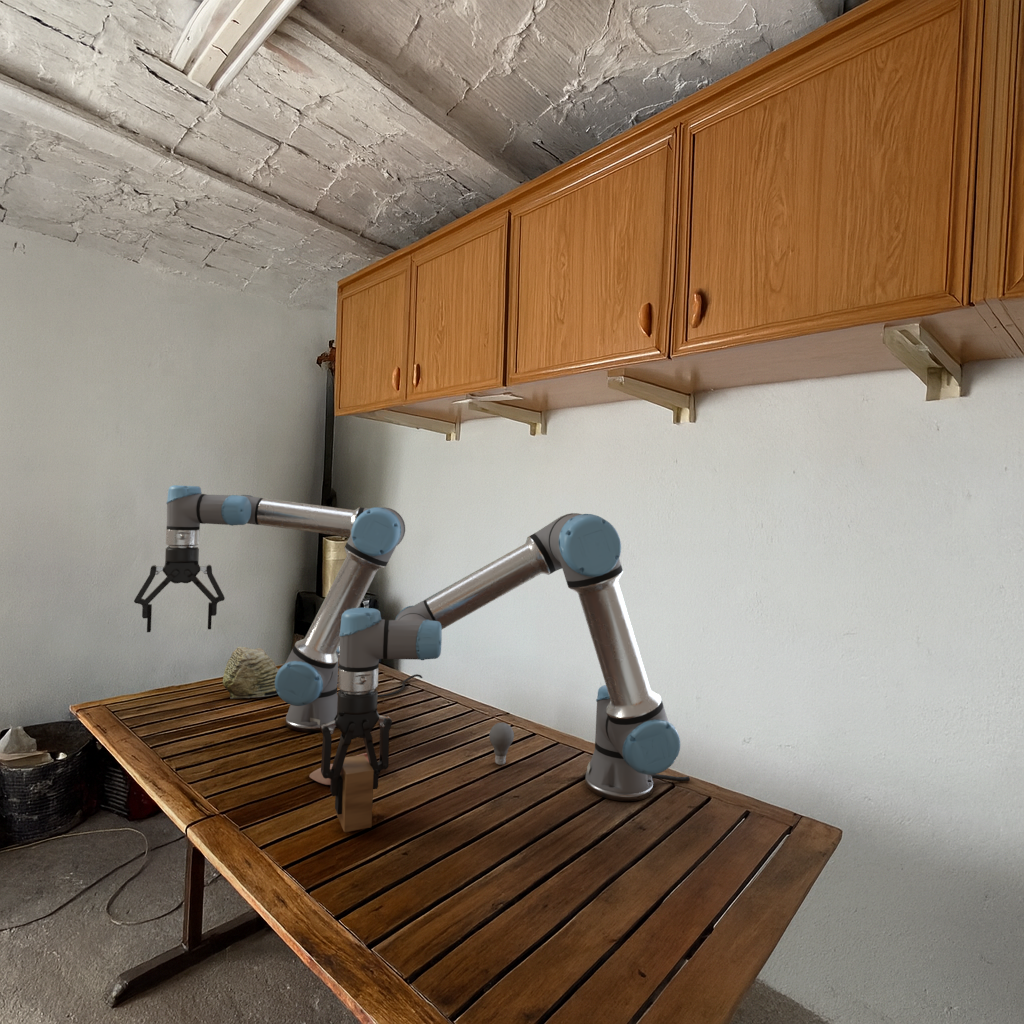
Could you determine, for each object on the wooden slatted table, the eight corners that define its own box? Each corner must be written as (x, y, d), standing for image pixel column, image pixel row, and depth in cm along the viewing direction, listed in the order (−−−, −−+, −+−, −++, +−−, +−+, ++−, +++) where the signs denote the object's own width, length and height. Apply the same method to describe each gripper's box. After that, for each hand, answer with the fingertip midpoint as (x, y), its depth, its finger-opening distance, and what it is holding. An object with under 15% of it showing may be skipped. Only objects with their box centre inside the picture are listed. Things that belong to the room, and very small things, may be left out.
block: (335, 813, 125) (337, 758, 125) (361, 808, 127) (363, 754, 127) (344, 832, 118) (346, 774, 118) (371, 827, 120) (373, 770, 120)
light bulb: (487, 758, 157) (489, 718, 156) (511, 759, 157) (513, 719, 157) (488, 769, 151) (490, 727, 150) (513, 769, 151) (515, 727, 151)
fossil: (218, 695, 195) (220, 647, 195) (278, 685, 208) (279, 640, 207) (228, 703, 189) (230, 653, 188) (289, 692, 201) (290, 645, 201)
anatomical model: (302, 763, 140) (328, 744, 151) (302, 781, 140) (327, 761, 151) (358, 771, 137) (380, 751, 148) (358, 789, 137) (379, 768, 148)
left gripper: (123, 547, 151) (120, 635, 152) (237, 547, 163) (234, 630, 163) (126, 544, 158) (123, 629, 158) (235, 545, 169) (232, 624, 170)
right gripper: (312, 699, 115) (308, 826, 115) (409, 690, 123) (404, 808, 124) (306, 688, 122) (301, 808, 122) (398, 679, 130) (394, 791, 130)
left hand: (179, 629), depth 161 cm, fingers open, 13 cm apart
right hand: (353, 807), depth 123 cm, fingers closed on block, 5 cm apart
